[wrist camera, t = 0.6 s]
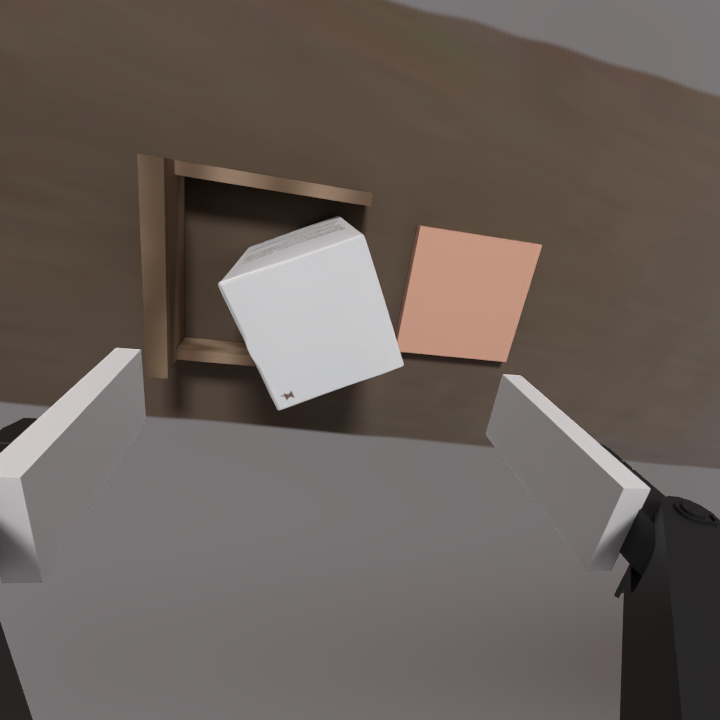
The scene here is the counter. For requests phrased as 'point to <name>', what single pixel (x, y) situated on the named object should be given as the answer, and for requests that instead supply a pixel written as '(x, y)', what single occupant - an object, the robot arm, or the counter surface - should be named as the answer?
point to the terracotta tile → (464, 294)
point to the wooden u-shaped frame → (167, 256)
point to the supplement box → (312, 312)
